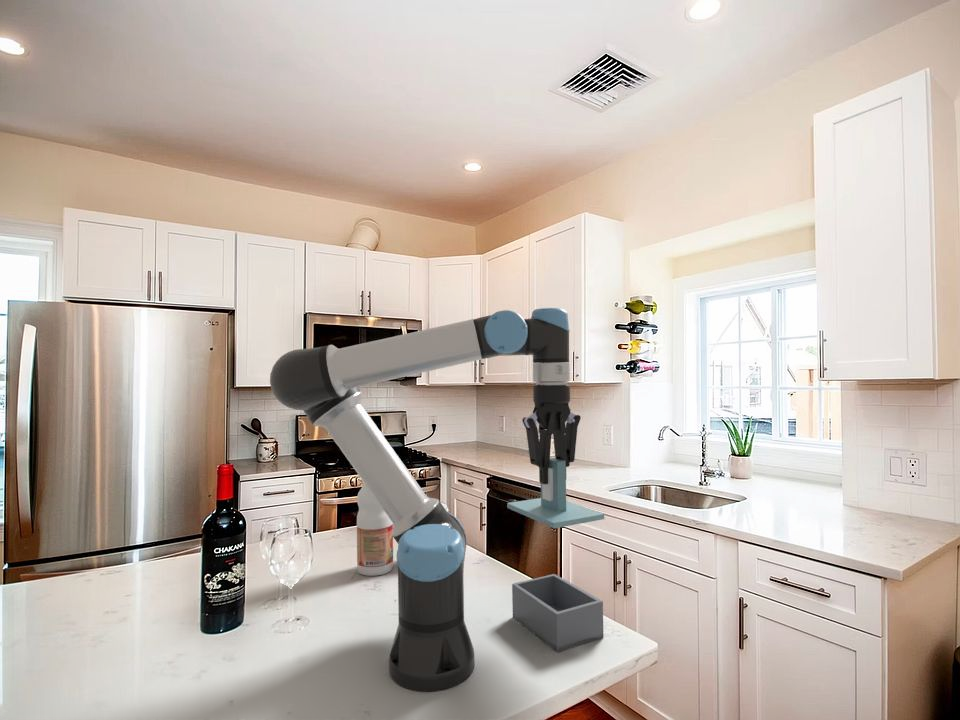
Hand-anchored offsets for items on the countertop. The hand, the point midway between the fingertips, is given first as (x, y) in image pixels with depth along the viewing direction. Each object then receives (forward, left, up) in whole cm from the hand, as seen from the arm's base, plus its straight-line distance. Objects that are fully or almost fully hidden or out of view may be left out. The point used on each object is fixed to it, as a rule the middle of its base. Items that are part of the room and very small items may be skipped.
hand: (553, 498), depth 107 cm
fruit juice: (+18, +51, -26) cm, 60 cm away
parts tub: (0, 0, -26) cm, 26 cm away
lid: (0, 0, -3) cm, 3 cm away
